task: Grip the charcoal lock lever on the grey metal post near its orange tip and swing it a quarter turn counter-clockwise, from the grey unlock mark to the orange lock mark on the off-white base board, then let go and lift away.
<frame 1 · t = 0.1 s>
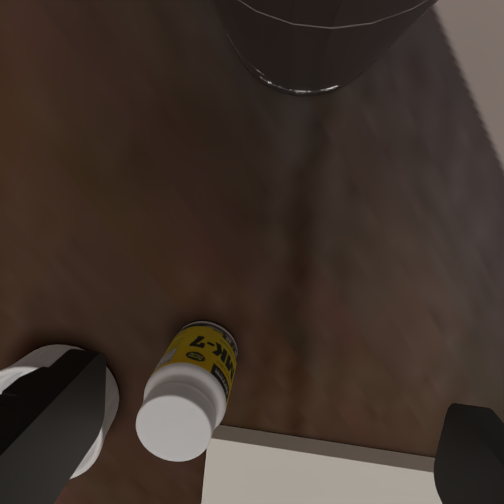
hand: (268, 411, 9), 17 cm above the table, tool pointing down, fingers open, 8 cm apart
ramekin: (71, 387, 31), on the table
supplement bottle: (205, 348, 29), on the table
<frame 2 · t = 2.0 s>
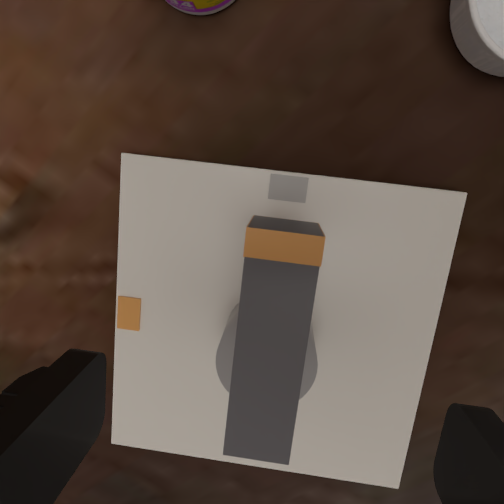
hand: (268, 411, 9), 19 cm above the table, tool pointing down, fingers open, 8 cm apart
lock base: (270, 323, 29), on the table
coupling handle: (271, 326, 20), point 9 cm above the table, hinge at 0.0°
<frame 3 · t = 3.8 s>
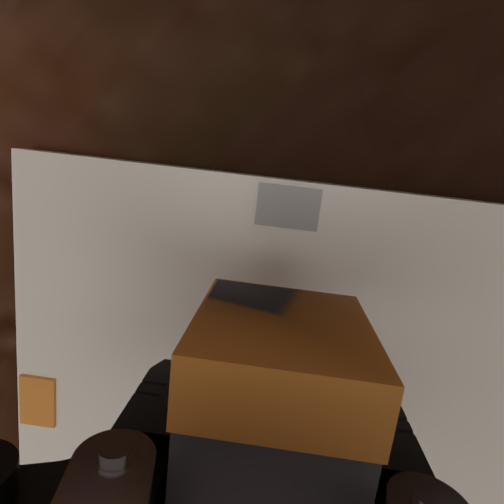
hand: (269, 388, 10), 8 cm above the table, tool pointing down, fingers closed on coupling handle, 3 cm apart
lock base: (260, 411, 19), on the table
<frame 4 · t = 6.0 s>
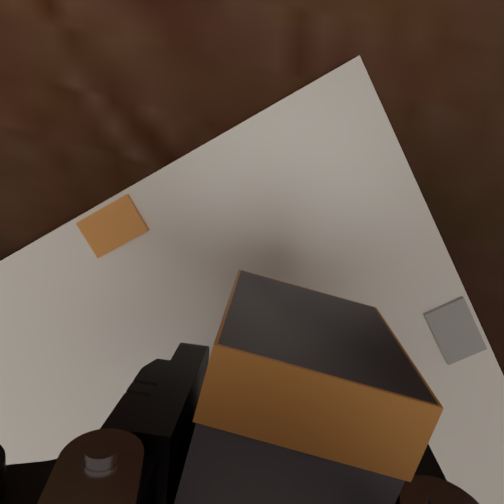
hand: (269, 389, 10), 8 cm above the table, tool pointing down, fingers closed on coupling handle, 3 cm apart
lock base: (238, 404, 19), on the table
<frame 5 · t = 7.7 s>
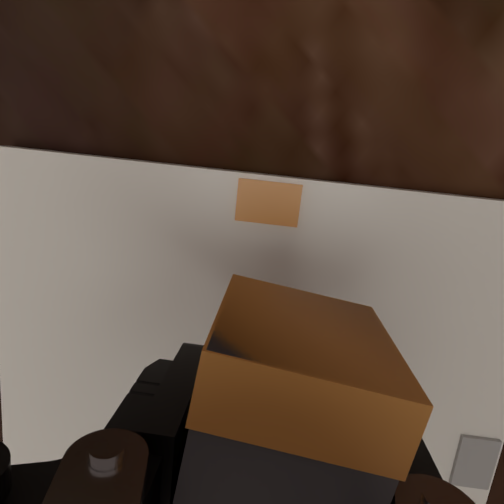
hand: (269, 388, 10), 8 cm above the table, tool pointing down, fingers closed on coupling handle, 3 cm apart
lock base: (245, 408, 19), on the table
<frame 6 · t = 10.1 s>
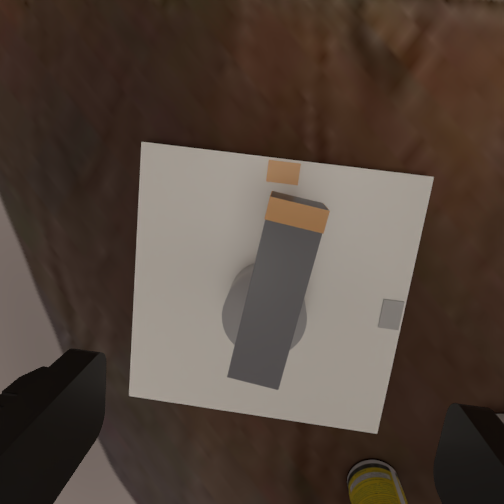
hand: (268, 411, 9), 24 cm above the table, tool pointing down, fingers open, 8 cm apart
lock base: (267, 291, 34), on the table
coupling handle: (275, 282, 24), point 9 cm above the table, hinge at 83.6°
supplement bottle: (371, 477, 38), on the table
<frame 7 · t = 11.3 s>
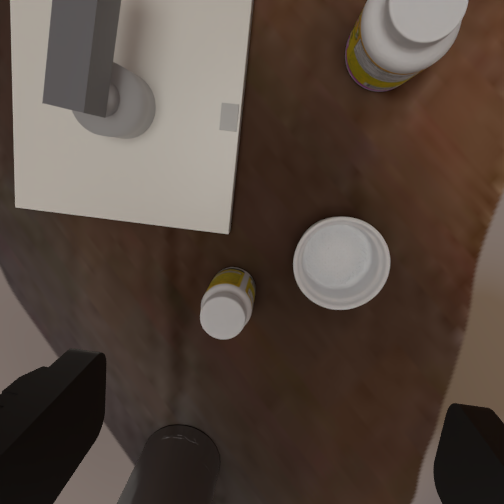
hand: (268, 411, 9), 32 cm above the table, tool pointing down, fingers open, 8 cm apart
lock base: (130, 107, 39), on the table
ramekin: (335, 253, 41), on the table
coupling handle: (91, 39, 29), point 9 cm above the table, hinge at 83.6°
supplement bottle 2: (379, 55, 37), on the table
supplement bottle: (234, 287, 43), on the table
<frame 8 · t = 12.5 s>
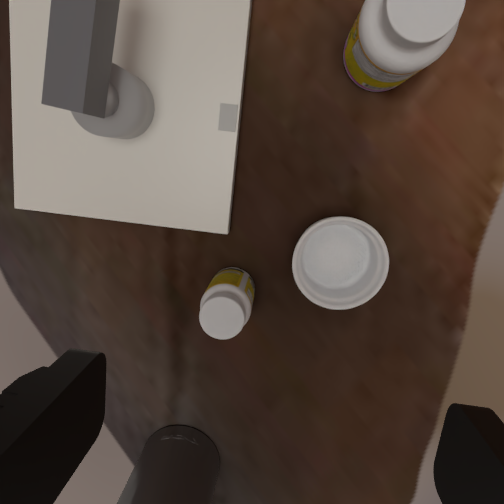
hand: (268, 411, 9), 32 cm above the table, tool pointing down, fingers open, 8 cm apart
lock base: (129, 108, 39), on the table
ramekin: (334, 253, 41), on the table
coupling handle: (90, 40, 29), point 9 cm above the table, hinge at 83.6°
supplement bottle 2: (377, 55, 37), on the table
supplement bottle: (233, 287, 43), on the table
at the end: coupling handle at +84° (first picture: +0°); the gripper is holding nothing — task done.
